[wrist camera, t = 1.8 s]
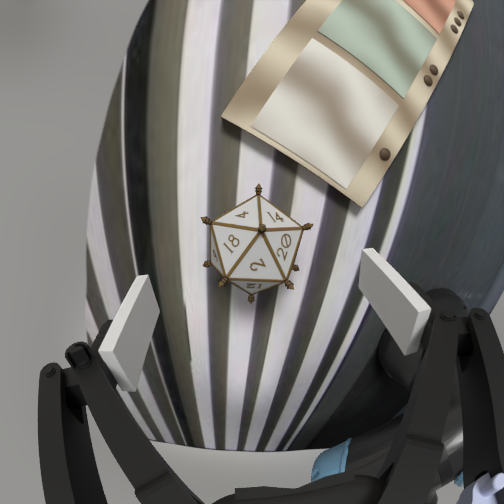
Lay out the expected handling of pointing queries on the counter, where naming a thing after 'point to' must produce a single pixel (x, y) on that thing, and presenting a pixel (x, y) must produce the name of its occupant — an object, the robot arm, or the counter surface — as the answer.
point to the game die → (254, 245)
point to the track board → (349, 84)
